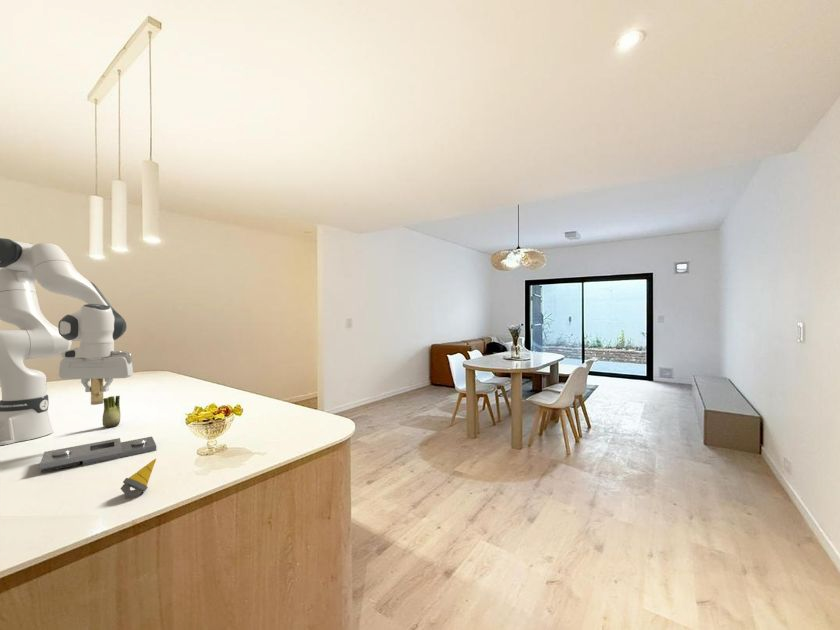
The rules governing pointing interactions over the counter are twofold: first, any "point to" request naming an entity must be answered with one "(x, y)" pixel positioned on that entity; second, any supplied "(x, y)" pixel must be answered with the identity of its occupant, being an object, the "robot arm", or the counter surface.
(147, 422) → the counter surface
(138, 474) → the yellow pointed cone
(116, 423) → the fennel bulb
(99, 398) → the brass pin
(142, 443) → the gray mounting plate
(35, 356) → the robot arm
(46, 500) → the counter surface
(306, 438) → the counter surface
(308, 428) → the counter surface
